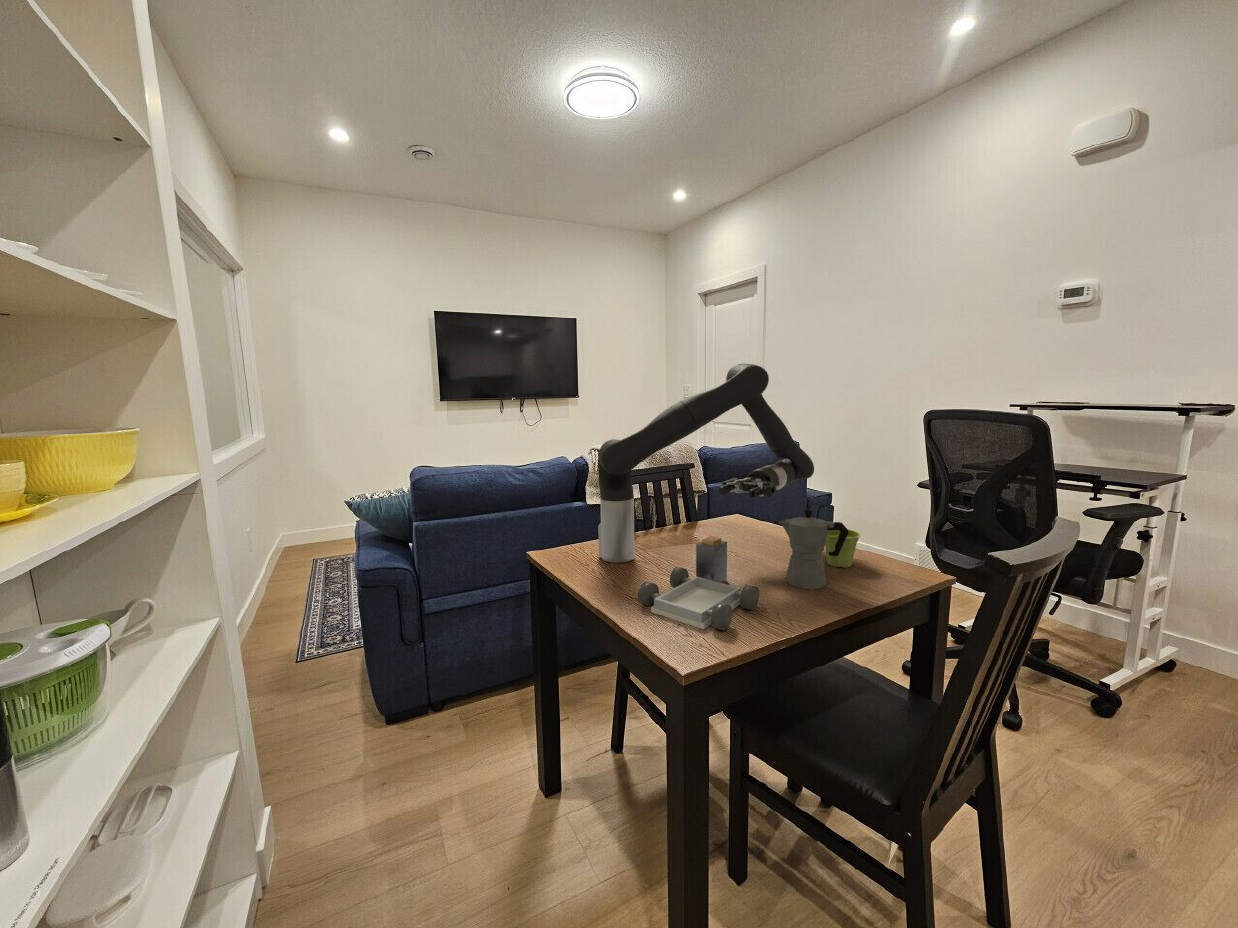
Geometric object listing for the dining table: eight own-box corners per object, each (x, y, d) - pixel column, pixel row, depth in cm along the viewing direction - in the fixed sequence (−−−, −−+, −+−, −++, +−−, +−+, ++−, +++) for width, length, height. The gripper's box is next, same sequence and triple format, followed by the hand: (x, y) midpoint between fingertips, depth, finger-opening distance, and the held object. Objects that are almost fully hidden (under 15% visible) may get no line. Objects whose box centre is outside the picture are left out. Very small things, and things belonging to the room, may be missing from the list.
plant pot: (834, 556, 143) (835, 525, 141) (866, 565, 135) (868, 533, 133) (812, 562, 138) (814, 531, 136) (844, 572, 130) (846, 539, 128)
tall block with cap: (696, 583, 124) (696, 539, 123) (708, 576, 129) (709, 534, 127) (714, 588, 121) (714, 543, 120) (726, 581, 126) (727, 537, 124)
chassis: (638, 607, 111) (637, 585, 111) (681, 584, 124) (681, 564, 123) (719, 634, 98) (719, 609, 98) (759, 605, 111) (759, 583, 110)
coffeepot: (774, 585, 122) (776, 511, 120) (780, 572, 131) (782, 503, 128) (845, 595, 116) (848, 517, 113) (846, 581, 124) (849, 508, 122)
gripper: (744, 465, 145) (711, 476, 134) (791, 468, 135) (760, 480, 124) (745, 490, 147) (712, 504, 135) (792, 495, 137) (761, 510, 125)
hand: (735, 492), depth 130 cm, fingers open, 8 cm apart
